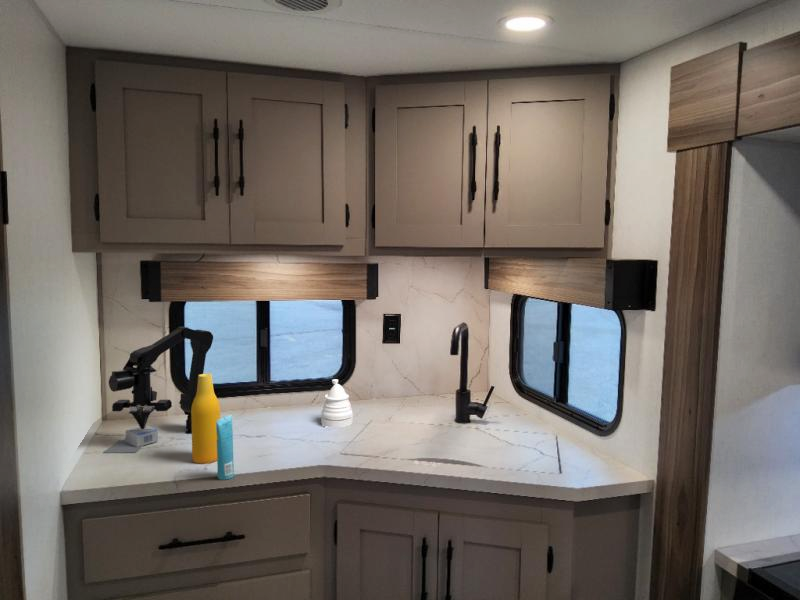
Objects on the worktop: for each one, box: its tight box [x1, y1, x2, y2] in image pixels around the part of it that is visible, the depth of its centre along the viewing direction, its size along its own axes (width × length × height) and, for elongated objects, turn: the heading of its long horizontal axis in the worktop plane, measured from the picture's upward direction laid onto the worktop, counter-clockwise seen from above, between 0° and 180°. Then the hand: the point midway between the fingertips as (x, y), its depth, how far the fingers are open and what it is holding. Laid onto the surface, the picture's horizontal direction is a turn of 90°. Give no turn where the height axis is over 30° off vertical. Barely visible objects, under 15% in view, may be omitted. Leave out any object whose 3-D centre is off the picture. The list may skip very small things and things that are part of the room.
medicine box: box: [124, 425, 159, 447], centre depth 203 cm, size 8×4×9 cm
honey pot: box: [320, 378, 354, 427], centre depth 227 cm, size 13×13×18 cm
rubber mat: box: [102, 439, 143, 454], centre depth 199 cm, size 11×12×1 cm
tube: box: [216, 413, 235, 481], centre depth 173 cm, size 7×5×19 cm, turn 167°
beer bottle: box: [191, 373, 221, 465], centre depth 187 cm, size 9×9×29 cm
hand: (142, 428), depth 199 cm, fingers closed
